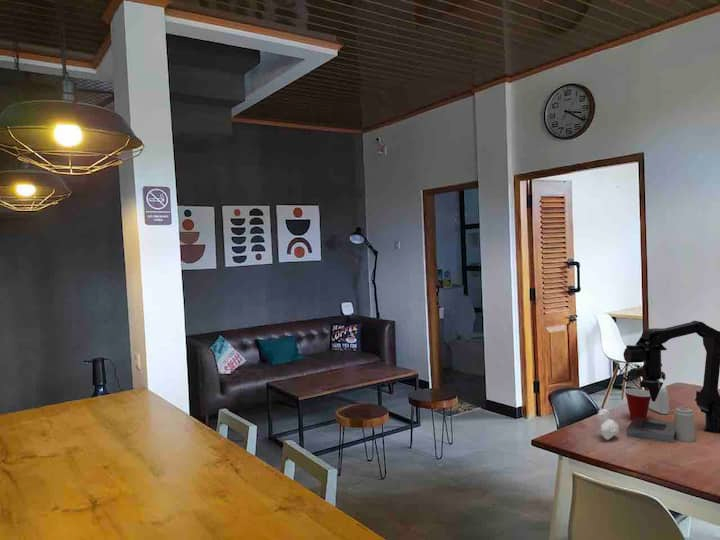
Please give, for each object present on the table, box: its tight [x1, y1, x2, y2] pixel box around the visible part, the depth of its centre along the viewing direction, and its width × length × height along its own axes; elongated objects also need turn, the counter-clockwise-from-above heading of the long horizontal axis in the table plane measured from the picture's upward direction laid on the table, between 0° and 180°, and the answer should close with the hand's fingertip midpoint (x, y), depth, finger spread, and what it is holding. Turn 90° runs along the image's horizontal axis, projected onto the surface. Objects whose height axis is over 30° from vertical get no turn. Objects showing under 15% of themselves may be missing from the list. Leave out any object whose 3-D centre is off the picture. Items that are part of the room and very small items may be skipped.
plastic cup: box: [624, 388, 651, 421], centre depth 232 cm, size 11×11×12 cm
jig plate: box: [626, 417, 677, 444], centre depth 214 cm, size 16×16×3 cm
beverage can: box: [674, 407, 696, 443], centre depth 206 cm, size 6×6×12 cm
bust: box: [596, 408, 620, 440], centre depth 211 cm, size 12×8×11 cm, turn 145°
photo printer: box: [647, 385, 670, 415], centre depth 241 cm, size 10×4×12 cm, turn 4°
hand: (653, 401), depth 213 cm, fingers closed
